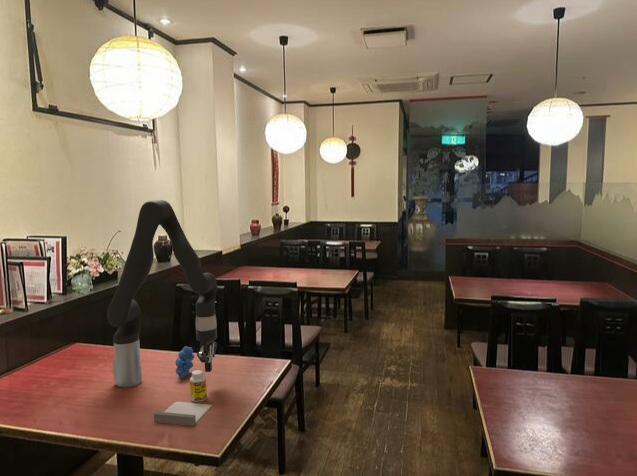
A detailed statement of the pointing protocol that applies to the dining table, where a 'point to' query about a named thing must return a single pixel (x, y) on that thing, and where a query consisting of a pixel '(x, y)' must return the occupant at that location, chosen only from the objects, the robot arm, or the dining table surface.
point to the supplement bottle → (198, 386)
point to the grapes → (184, 361)
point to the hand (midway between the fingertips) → (208, 371)
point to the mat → (182, 413)
